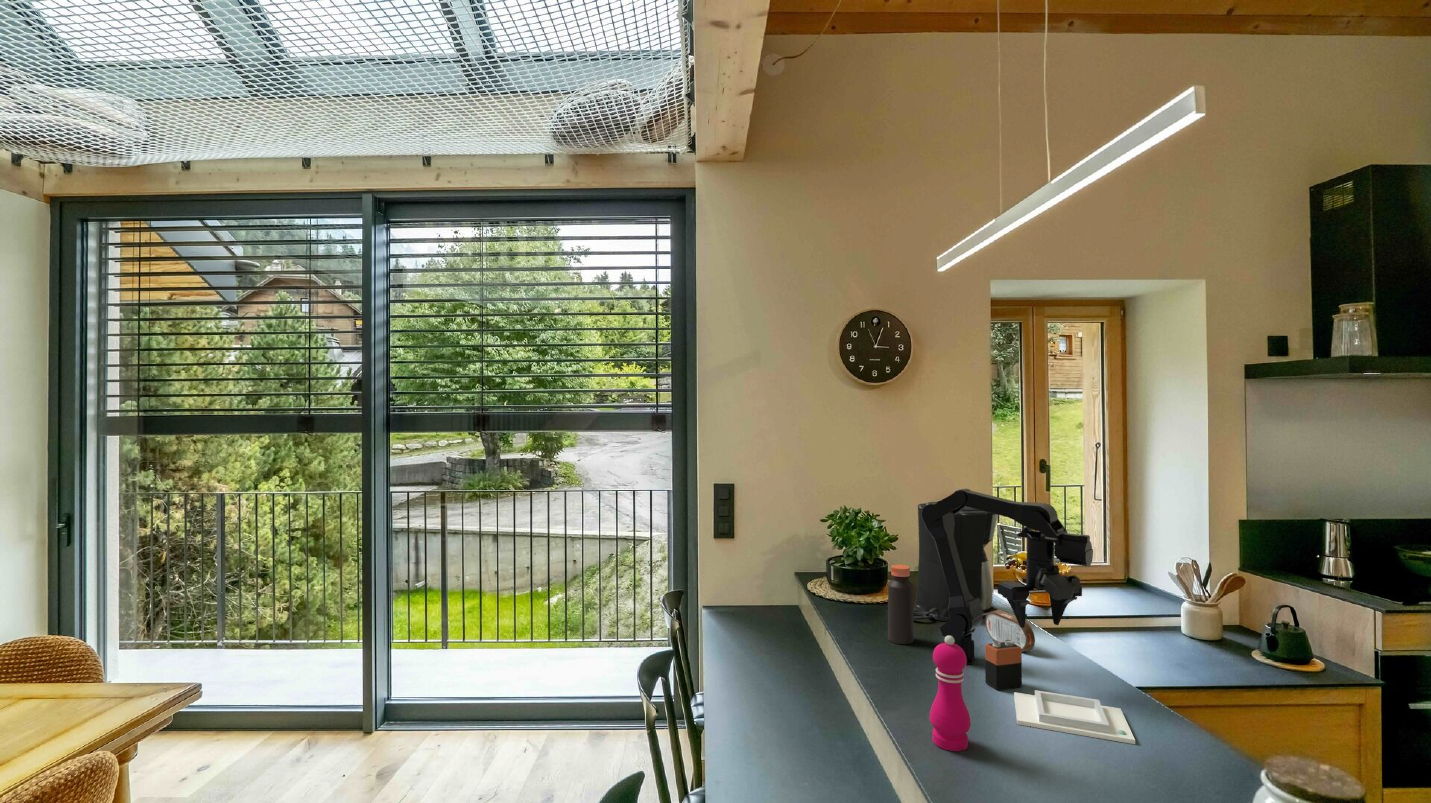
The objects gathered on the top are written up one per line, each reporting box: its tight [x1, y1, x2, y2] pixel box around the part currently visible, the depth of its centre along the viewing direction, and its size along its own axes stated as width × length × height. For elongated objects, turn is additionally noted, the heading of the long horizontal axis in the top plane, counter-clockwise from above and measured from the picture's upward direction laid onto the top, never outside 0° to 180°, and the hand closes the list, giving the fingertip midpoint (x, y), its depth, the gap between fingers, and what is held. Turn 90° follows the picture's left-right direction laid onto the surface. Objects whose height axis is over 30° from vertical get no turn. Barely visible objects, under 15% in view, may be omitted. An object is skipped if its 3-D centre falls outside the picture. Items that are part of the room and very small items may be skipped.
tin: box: [985, 609, 1036, 652], centre depth 171 cm, size 15×3×8 cm, turn 20°
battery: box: [984, 639, 1023, 691], centre depth 146 cm, size 4×7×10 cm, turn 105°
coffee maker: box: [914, 501, 999, 622], centre depth 199 cm, size 23×32×34 cm
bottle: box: [887, 564, 915, 645], centre depth 175 cm, size 7×7×20 cm
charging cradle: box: [1013, 689, 1136, 745], centre depth 130 cm, size 20×14×2 cm
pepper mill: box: [929, 636, 972, 752], centre depth 121 cm, size 7×7×20 cm
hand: (1039, 625), depth 149 cm, fingers open, 9 cm apart
